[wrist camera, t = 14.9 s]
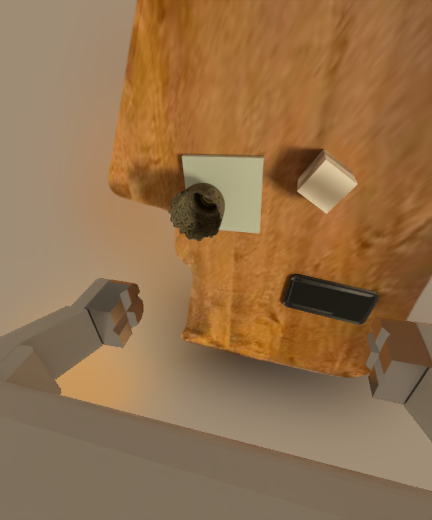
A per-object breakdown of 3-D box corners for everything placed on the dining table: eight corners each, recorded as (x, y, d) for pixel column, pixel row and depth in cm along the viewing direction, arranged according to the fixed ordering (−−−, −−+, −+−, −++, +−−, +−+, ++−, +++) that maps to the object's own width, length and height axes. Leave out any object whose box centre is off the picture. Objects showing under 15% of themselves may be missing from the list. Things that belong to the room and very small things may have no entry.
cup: (198, 219, 47) (180, 244, 41) (181, 177, 43) (159, 198, 37) (239, 211, 44) (227, 237, 38) (225, 165, 40) (209, 186, 34)
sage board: (184, 154, 42) (181, 156, 41) (263, 156, 40) (263, 158, 39) (191, 224, 49) (189, 227, 48) (259, 230, 46) (259, 233, 46)
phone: (292, 275, 49) (381, 295, 47) (292, 271, 50) (380, 291, 48) (281, 306, 54) (362, 326, 52) (282, 302, 55) (361, 321, 53)
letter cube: (323, 148, 37) (326, 159, 33) (352, 171, 38) (357, 184, 34) (297, 179, 40) (296, 192, 36) (323, 199, 41) (325, 214, 37)
